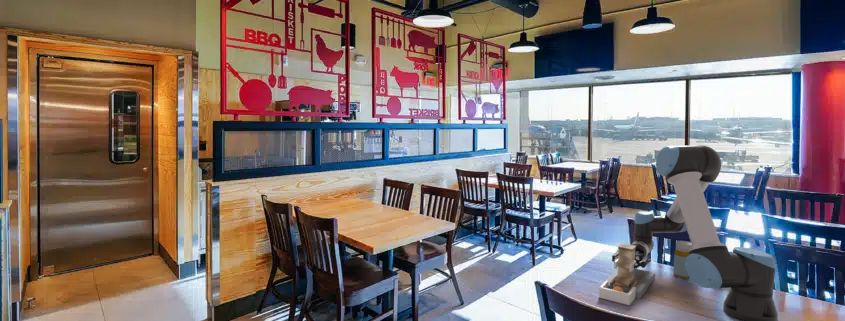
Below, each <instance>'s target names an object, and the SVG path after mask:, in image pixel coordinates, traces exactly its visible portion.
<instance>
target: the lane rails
mask: <svg viewBox="0 0 845 321" xmlns="http://www.w3.org/2000/svg"><path fill="white" fill-rule="evenodd" d="M644 275H645V272H642V273H641V274H640V276H639V277H638V278H637V279H636V280H635V282H634V283H633V284H632V285H631V287H630V290H631V289H632V287H635V286H636V285H637V284H638V283H639V281H640V280H641V279H642V277H643V276H644ZM617 277H618V275H617V276H616V277H615V278H614V279H613V280H612V281H611V282H610V286H612V285H613V284H614V283H615V279H616V278H617Z"/></svg>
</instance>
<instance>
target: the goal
mask: <svg viewBox="0 0 845 321" xmlns="http://www.w3.org/2000/svg"><path fill="white" fill-rule="evenodd" d="M604 281H605V280H604ZM604 281H603V282H604ZM603 282H602V283H603ZM602 283H601V285H600V286H599V287H598V299H600V300H604V301H608V302H610V303H611V302H612V303H616V304H619V305H623V306H627V307H631V305H632V303H633V302H634V301H635V300H636V299H637V298H636V297H635V295H636V287H632V289H631V290H630V291H629V292H628V293H624V292H620V291H616V290H612V289H608V284H609V281H605V282H604V283H603V284H602Z"/></svg>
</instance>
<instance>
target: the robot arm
mask: <svg viewBox="0 0 845 321" xmlns="http://www.w3.org/2000/svg"><path fill="white" fill-rule="evenodd" d="M655 167H656V171H657V173H658V174H659V175H660V176H663V177H665V178H666V181H667V183H668V184H670V185H672V186H673V189H674V192H675V195H676V197H675V199H674V200H673V202H672V204H671V205H670V208H669V209H668V210H667V212H666V214H665V215H655V214H654V213H653V212H651V211H644V210H643V211H640V210H639V211H637V212H635V215H634V230H633V242H632V243H631V244H630V245H633V246H636V249H635V261H633V262H632V263H631V264H630V270H629V272H632V271H633V270H634V269H639V268H643V269H645V268H646V266H647V265H648V263H651V262H652V256H651V255H649V254H650V253H651V252H652V251H653V249H654V247H655V246H654V245H655V244H654V241H653V240H654V239H653V235H654V234H663V233H668V234H670V233H672V234H673V233H674V234H676V233H683V232H686V230H687V234H688V237H689V242H690V243H691V244H692V247H691V249H690V250H689V254H690V255H689V256H688V257H687V258H686V264H685V266H686V270H687V273H688V275H689V277H690V280H691V281H692V282H693V283H695V284H696V285H697V286H698V287H700V288H704V289H713V290H716V289H717V290H718V289H728V288H729V292H728V293H727V295H726V297H725V299H724V301H723V304H722V305H723V306H722V309H723V311H724V313H726V314H727V315H729V316H730V317H732V318H735V319H737V320H740V321H777V320H778V318H779V317H778V316H779V313H778V310H777V306H776V304H775V301H774V297H773V295H774V284H775V274H776V259H775V257H774V256H772V254H770V253H767V252H764V251H762V250H761V251H760V250H759V249H753V248H749V247H744V246H735V247H734V248H733V250H732V252H730V251H729V249H728V246H727V245H726V244H724V243H722V242H721V241H720V239H719V235H718V232H717V228H716V226H715V223H714V220H713V217H712V215H711V212H710V208H709V206H708V203H707V199H706V197H705V196H706V195H705V194H704V192H705V191H706V189H707V188H708V186H709V185H710V184H711V183H714V182H715V181H716V180H717V178H718V176H719V175H720V172H721V170H722V160H721V157H720V155H719V154H718V152H717V151H716V150H715V149H713V148H712V147H710V146H707V145H703V144H700V145H699V144H698V145H677V144H676V145H668V146H664V147H663V148H661V149H660V150H659V152H658V153H657V156H656V161H655ZM618 253H619V249H617V250H616V251H615V253H613V254H612V255H611V262H612V263H613V269H615V270H616V269H617V268H618Z"/></svg>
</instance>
